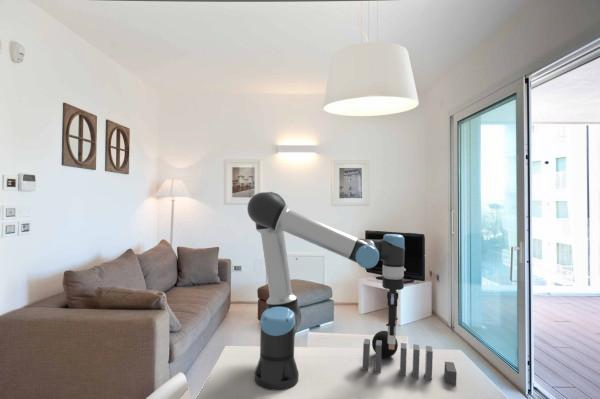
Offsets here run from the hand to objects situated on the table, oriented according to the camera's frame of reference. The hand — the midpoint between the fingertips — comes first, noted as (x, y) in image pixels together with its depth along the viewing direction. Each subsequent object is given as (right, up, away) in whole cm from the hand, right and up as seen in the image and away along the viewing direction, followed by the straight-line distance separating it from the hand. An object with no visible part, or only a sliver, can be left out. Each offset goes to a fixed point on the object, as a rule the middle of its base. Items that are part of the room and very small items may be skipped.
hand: (391, 340), depth 144 cm
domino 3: (0, -2, 0) cm, 2 cm away
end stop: (+19, -12, -5) cm, 23 cm away
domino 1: (-9, -11, +2) cm, 14 cm away
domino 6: (+12, -12, -3) cm, 17 cm away
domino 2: (-5, -11, +1) cm, 12 cm away
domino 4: (+4, -11, -1) cm, 12 cm away
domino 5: (+8, -12, -2) cm, 14 cm away
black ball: (0, -11, +13) cm, 17 cm away
